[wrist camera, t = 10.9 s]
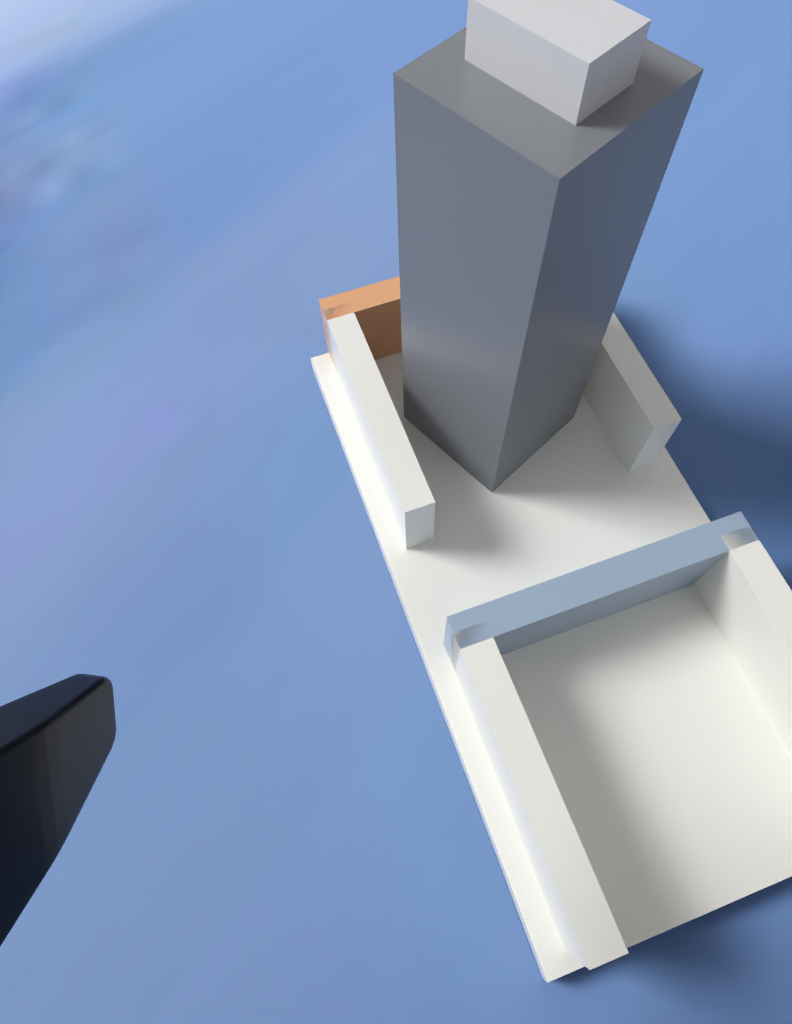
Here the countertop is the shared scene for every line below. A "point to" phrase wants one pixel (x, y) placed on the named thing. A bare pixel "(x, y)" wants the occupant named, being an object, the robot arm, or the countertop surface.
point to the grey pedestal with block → (523, 213)
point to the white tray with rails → (583, 647)
